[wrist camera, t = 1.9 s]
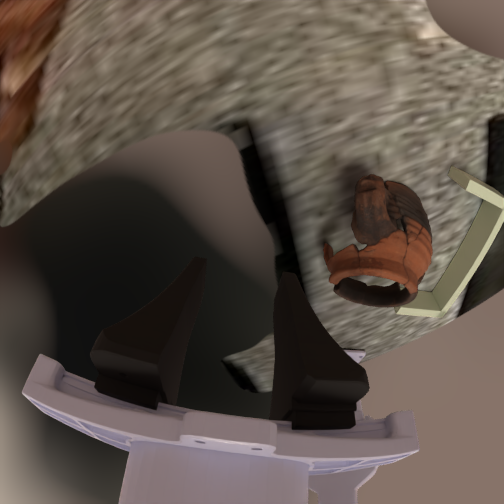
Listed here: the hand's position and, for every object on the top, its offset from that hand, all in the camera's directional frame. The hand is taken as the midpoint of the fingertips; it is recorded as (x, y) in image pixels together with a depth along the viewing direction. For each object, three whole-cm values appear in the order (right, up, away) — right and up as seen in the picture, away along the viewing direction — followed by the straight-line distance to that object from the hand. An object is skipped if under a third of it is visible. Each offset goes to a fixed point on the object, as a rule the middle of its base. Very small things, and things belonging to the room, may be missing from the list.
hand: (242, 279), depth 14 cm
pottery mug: (+11, +4, +8) cm, 14 cm away
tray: (+20, +2, +8) cm, 22 cm away
